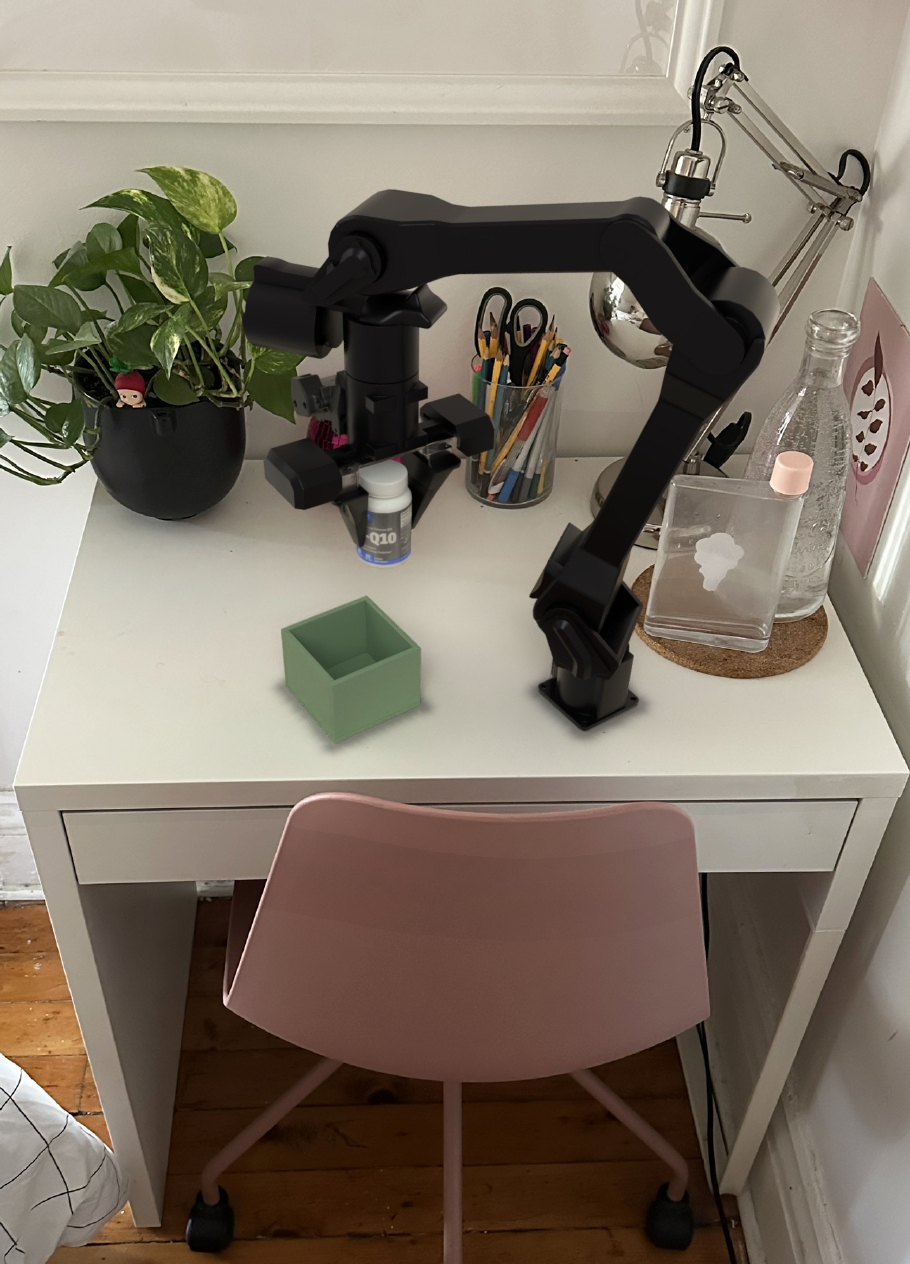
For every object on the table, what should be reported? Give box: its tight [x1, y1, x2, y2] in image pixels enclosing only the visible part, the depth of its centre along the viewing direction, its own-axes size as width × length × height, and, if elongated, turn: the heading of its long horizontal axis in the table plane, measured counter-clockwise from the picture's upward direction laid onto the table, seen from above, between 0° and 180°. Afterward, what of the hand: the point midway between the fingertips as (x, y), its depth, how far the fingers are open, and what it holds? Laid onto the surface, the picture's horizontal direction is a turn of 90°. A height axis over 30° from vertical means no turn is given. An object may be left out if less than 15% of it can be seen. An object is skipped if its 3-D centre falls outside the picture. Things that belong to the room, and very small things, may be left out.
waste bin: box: [280, 595, 422, 744], centre depth 97 cm, size 8×8×6 cm
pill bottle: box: [355, 459, 412, 570], centre depth 96 cm, size 5×5×8 cm
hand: (384, 535), depth 97 cm, fingers closed on pill bottle, 5 cm apart
